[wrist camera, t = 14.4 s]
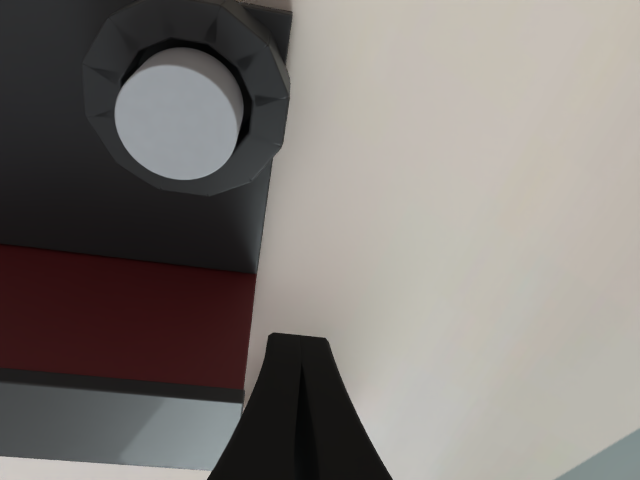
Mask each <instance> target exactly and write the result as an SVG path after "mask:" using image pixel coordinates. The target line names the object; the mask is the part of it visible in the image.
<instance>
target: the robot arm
mask: <svg viewBox="0 0 640 480" xmlns="http://www.w3.org/2000/svg"><path fill="white" fill-rule="evenodd" d="M207 480H393V479H392V477H391V476H390V474H389V472H388V471H387V469H386V467H385V466H384V464H383V462H382V461H381V459H380V457H379V455H378V454H377V452H376V450H375V448H374V446H373V444H372V442H371V441H370V439H369V437H368V435H367V433H366V431H365V429H364V427H363V425H362V423H361V421H360V419H359V417H358V415H357V413H356V410H355V408H354V406H353V404H352V402H351V400H350V398H349V395H348V393H347V391H346V388H345V386H344V383H343V381H342V378H341V376H340V373H339V371H338V368H337V366H336V363H335V360H334V357H333V354H332V351H331V348H330V344H329V342H328V341H327V339H326V338H321V337H312V336H302V335H292V334H283V333H272V334H270V335H269V336H268V341H267V347H266V353H265V358H264V361H263V365H262V368H261V371H260V374H259V377H258V379H257V382H256V384H255V387H254V389H253V392H252V394H251V396H250V399H249V401H248V404H247V406H246V408H245V410H244V412H243V414H242V416H241V418H240V420H239V422H238V424H237V426H236V428H235V430H234V432H233V434H232V436H231V438H230V440H229V442H228V444H227V446H226V448H225V450H224V451H223V453H222V455H221V457H220V458H219V460H218V462H217V464H216V465H215V467H214V469H213V470H212V472H211V474H210V475H209V477H208V479H207Z"/></svg>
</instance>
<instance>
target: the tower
mask: <svg viewBox="0 0 640 480" xmlns="http://www.w3.org/2000/svg"><path fill="white" fill-rule="evenodd" d="M256 277H257V274H252V273H244V272H235V271H227V270H218V269H210V268H202V267H193V266H185V265H176V264H168V263H160V262H151V261H143V260H134V259H126V258H118V257H109V256H101V255H92V254H84V253H76V252H67V251H59V250H50V249H42V248H34V247H25V246H17V245H8V244H0V456H5V457H19V458H34V459H48V460H63V461H77V462H91V463H106V464H120V465H135V466H149V467H164V468H178V469H192V470H207V471H212V470H213V469H214V467H215V465H216V464H217V462H218V460H219V458H220V457H221V455H222V453H223V451H224V450H225V448H226V446H227V444H228V442H229V440H230V438H231V436H232V434H233V432H234V430H235V428H236V426H237V424H238V422H239V420H240V418H241V416H242V411H243V404H244V396H245V391H244V382H245V374H246V365H247V356H248V347H249V338H250V330H251V321H252V312H253V303H254V294H255V285H256Z"/></svg>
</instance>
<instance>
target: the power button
mask: <svg viewBox="0 0 640 480" xmlns="http://www.w3.org/2000/svg"><path fill="white" fill-rule="evenodd" d="M243 110H244V105H243V97H242V93H241V90H240V88H239V85H238V83H237V81H236V79H235V78H234V76H233V75H232V73H231V72H230V71H229V70H228V69H227V67H226V66H225V65H223V64H222V63H221V62H220V61H219V60H217V59H216V58H214V57H213V56H211V55H209V54H207V53H205V52H203V51H200V50H197V49H192V48H185V47H175V48H170V49H166V50H163V51H160V52H158V53H156V54H154V55H153V56H151V57H150V58H149V59H148V60H147V61H146V62H144V63H143V65H142V66H141V67H140V68H139V69H138V70H137V71H136V72H135V73H134V74H133V75H132V76H131V77H130V78H129V79H128V80H127V81H126V82H125V84H124V85H123V86H122V88H121V90H120V92H119V94H118V96H117V99H116V104H115V115H114V116H115V124H116V128H117V132H118V134H119V137H120V139H121V141H122V143H123V145H124V146H125V148H126V149H127V151H128V152H129V153H130V154H131V156H132V157H133V158H134V159H135V160H136V161H137V162H139V163H140V164H141V165H142V166H144V167H145V168H147V169H148V170H150V171H152V172H154V173H156V174H158V175H161V176H164V177H167V178H172V179H178V180H191V179H197V178H201V177H205V176H207V175H209V174H211V173H213V172H215V171H216V170H218V169H219V168H220V167H222V166H223V165H224V164H225V163H226V161H227V160H228V159H229V157H230V156H231V154H232V152H233V150H234V148H235V145H236V142H237V138H238V134H239V130H240V126H241V122H242V118H243Z"/></svg>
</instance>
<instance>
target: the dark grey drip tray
mask: <svg viewBox="0 0 640 480" xmlns="http://www.w3.org/2000/svg"><path fill="white" fill-rule="evenodd" d="M291 23H292V12H290V11H285V10H279V9H274V8H269V7H263V6H258V5H253V4H247V3H242V2H236V1H235V0H0V244H8V245H17V246H25V247H34V248H42V249H50V250H59V251H67V252H76V253H84V254H92V255H101V256H109V257H118V258H126V259H134V260H143V261H151V262H160V263H168V264H176V265H185V266H193V267H202V268H210V269H218V270H227V271H235V272H244V273H252V274H257V269H258V262H259V255H260V248H261V240H262V233H263V226H264V219H265V211H266V204H267V197H268V190H269V182H270V175H271V168H272V161H273V157H274V156H275V155H276V153H277V152H278V151H279V150H280V149H281V147H282V144H283V141H284V134H285V127H286V121H287V114H288V107H289V100H290V77H289V74H288V72H287V69H286V67H285V66H286V59H287V52H288V44H289V37H290V30H291ZM175 47H185V48H192V49H197V50H200V51H203V52H205V53H207V54H209V55H211V56H213V57H214V58H216V59H217V60H219V61H220V62H221V63H222V64H223V65H225V66H226V67H227V69H228V70H229V71H230V72H231V73H232V75H233V76H234V78H235V79H236V81H237V83H238V85H239V88H240V90H241V93H242V97H243V105H244V110H243V118H242V122H241V126H240V130H239V134H238V138H237V142H236V145H235V148H234V150H233V152H232V154H231V156H230V157H229V159H228V160H227V161H226V163H225V164H224V165H223V166H222V167H220V168H219V169H218V170H216V171H215V172H213V173H211V174H209V175H207V176H205V177H201V178H197V179H191V180H178V179H172V178H167V177H164V176H161V175H158V174H156V173H154V172H152V171H150V170H148V169H147V168H145V167H144V166H142V165H141V164H140V163H139V162H137V161H136V160H135V159H134V158H133V157H132V156H131V154H130V153H129V152H128V151H127V149H126V148H125V146H124V145H123V143H122V141H121V139H120V137H119V134H118V132H117V128H116V124H115V116H114V115H115V104H116V99H117V96H118V94H119V92H120V90H121V88H122V86H123V85H124V84H125V82H126V81H127V80H128V79H129V78H130V77H131V76H132V75H133V74H134V73H135V72H136V71H137V70H138V69H139V68H140V67H141V66H142V65H143V63H144V62H146V61H147V60H148V59H149V58H150V57H151V56H153V55H154V54H156V53H158V52H160V51H163V50H166V49H170V48H175Z"/></svg>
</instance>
